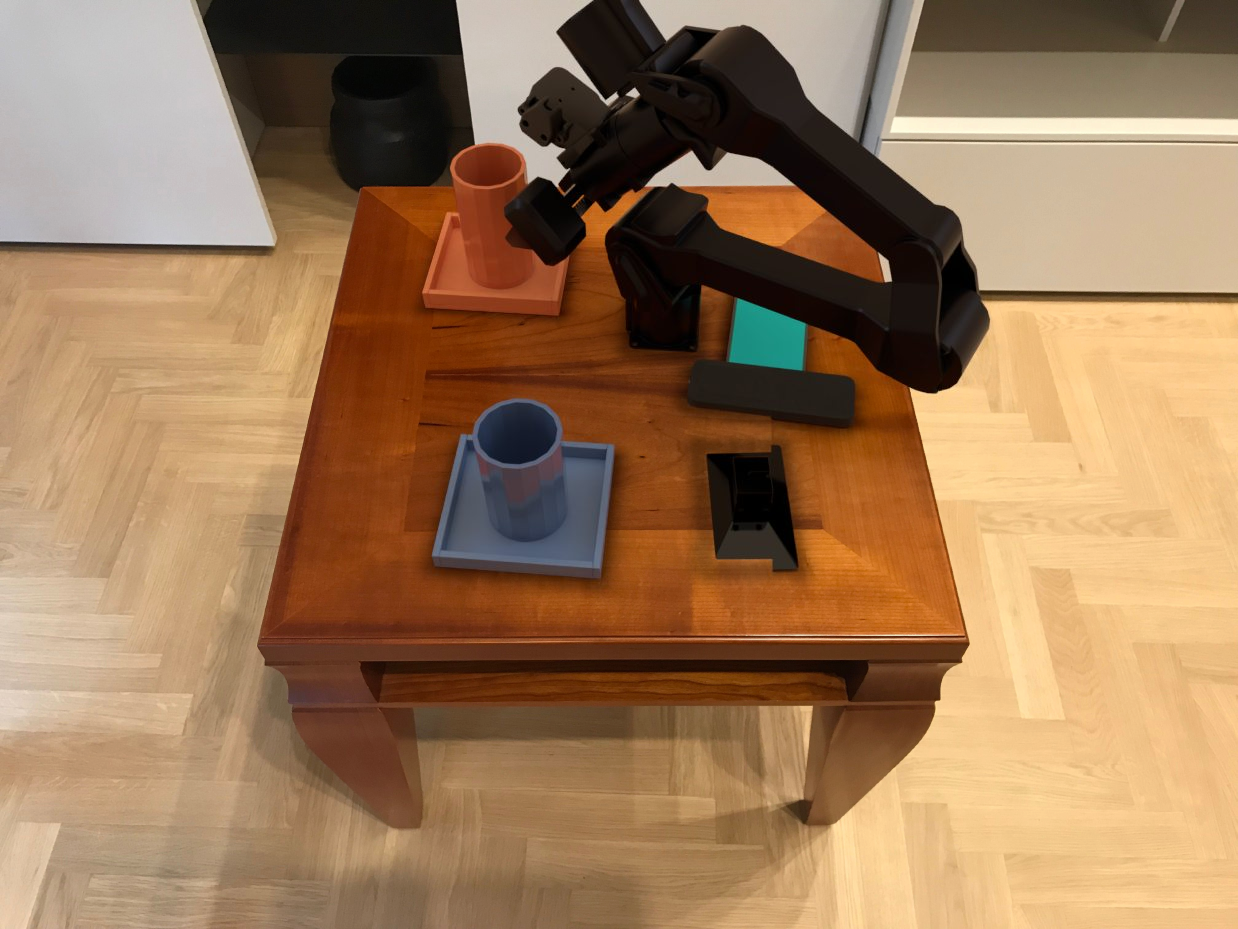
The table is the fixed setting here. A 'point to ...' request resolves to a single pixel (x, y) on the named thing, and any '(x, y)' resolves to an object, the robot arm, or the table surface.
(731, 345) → the smartphone
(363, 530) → the table surface
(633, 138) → the robot arm
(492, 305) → the rust tray
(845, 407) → the remote control
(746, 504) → the black stand
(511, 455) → the blue cup
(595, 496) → the blue tray
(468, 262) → the rust cup
